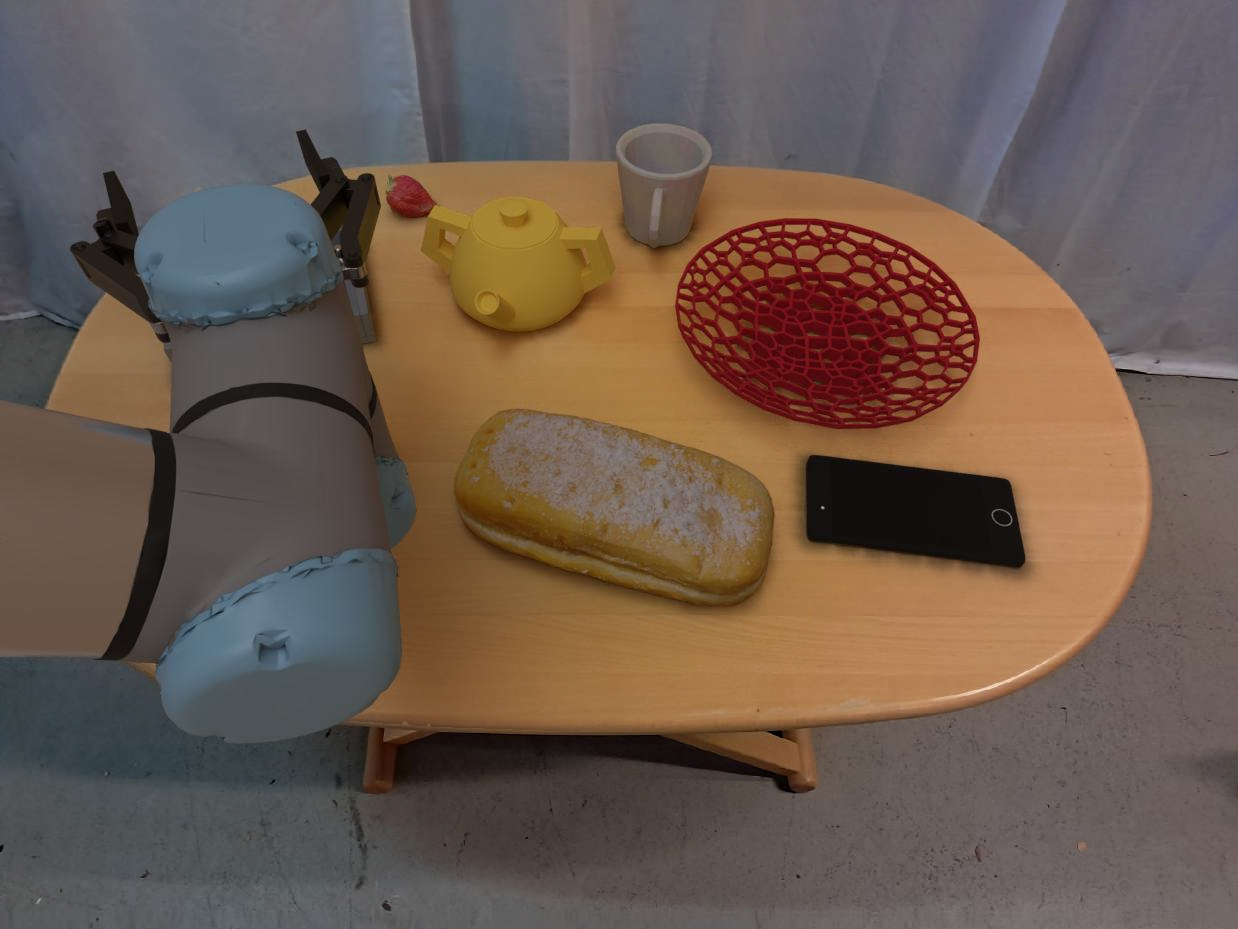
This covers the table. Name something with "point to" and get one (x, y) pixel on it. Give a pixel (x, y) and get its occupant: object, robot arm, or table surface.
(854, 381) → the bowl
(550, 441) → the bread
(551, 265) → the teapot
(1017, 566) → the cell phone
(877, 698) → the table surface
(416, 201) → the fruit
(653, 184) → the mug
